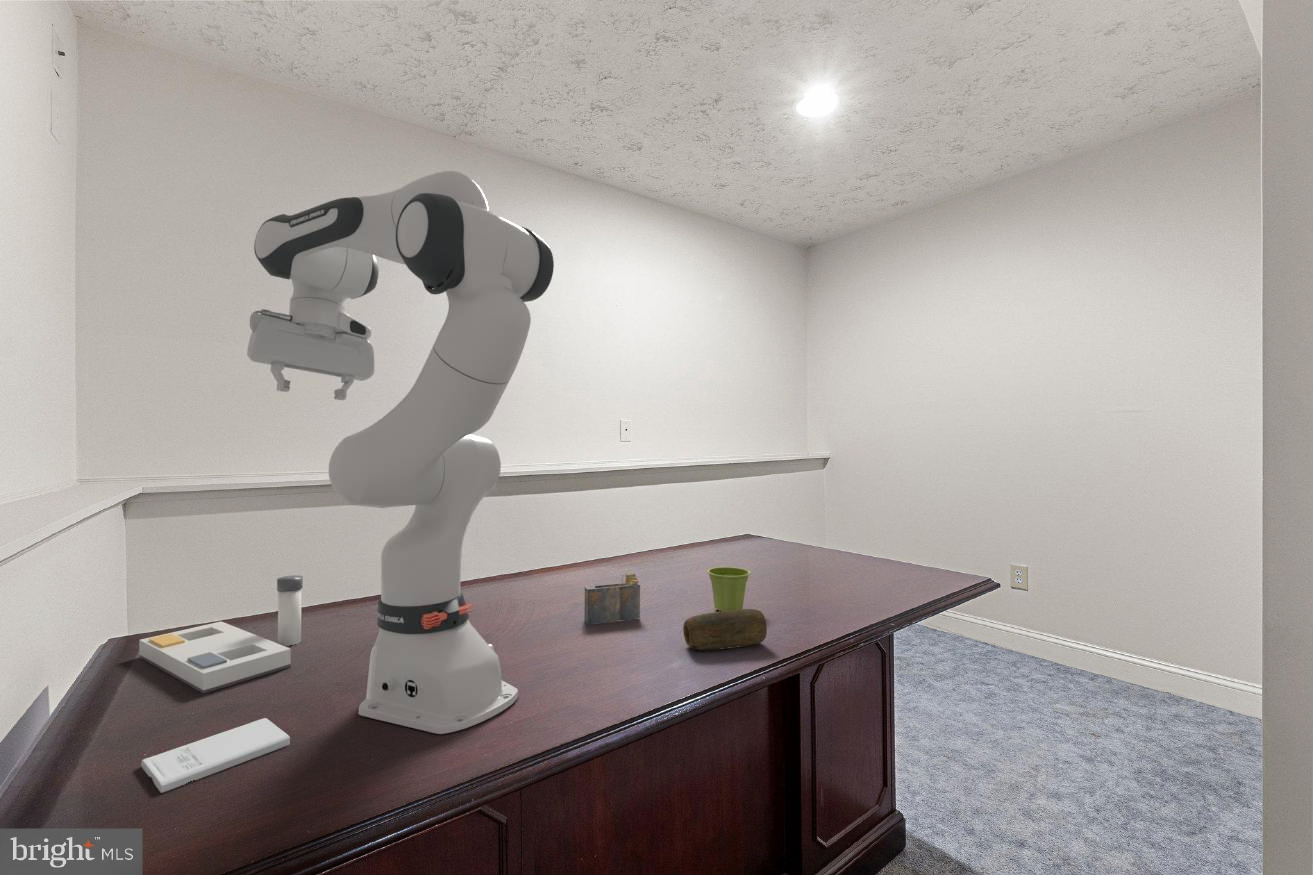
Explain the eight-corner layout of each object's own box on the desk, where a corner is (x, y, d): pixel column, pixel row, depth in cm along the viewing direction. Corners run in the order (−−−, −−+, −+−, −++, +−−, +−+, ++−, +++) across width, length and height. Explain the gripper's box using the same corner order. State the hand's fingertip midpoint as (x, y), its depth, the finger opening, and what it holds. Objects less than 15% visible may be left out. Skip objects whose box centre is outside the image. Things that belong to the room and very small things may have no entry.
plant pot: (707, 603, 134) (707, 565, 134) (748, 604, 133) (748, 567, 133) (707, 615, 124) (707, 575, 124) (751, 617, 123) (751, 576, 123)
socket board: (290, 666, 95) (290, 646, 95) (203, 693, 85) (203, 670, 85) (221, 637, 109) (221, 619, 109) (139, 657, 99) (139, 637, 99)
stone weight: (751, 636, 112) (751, 602, 112) (769, 649, 105) (770, 612, 105) (679, 645, 107) (679, 609, 107) (693, 659, 100) (694, 620, 100)
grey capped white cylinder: (306, 641, 107) (307, 577, 107) (283, 648, 104) (283, 581, 104) (295, 637, 109) (296, 574, 109) (272, 644, 106) (272, 578, 106)
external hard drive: (290, 749, 71) (160, 798, 62) (264, 728, 76) (141, 771, 66) (290, 736, 71) (161, 783, 62) (264, 716, 76) (141, 757, 66)
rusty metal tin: (635, 616, 125) (635, 571, 125) (639, 621, 122) (640, 574, 122) (583, 622, 121) (584, 575, 121) (587, 626, 118) (587, 579, 118)
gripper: (257, 301, 96) (251, 381, 94) (379, 331, 112) (376, 401, 110) (244, 311, 100) (238, 388, 98) (364, 339, 116) (361, 406, 114)
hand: (312, 395), depth 104 cm, fingers open, 8 cm apart
